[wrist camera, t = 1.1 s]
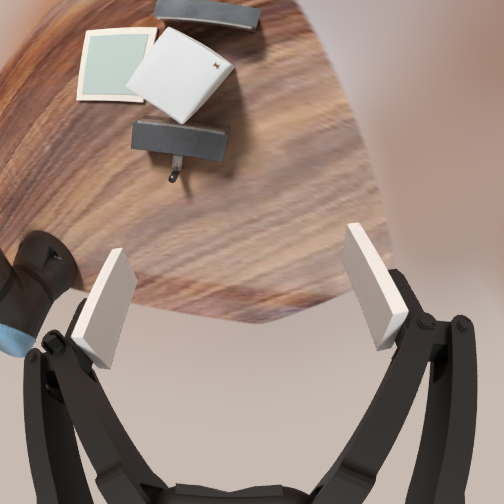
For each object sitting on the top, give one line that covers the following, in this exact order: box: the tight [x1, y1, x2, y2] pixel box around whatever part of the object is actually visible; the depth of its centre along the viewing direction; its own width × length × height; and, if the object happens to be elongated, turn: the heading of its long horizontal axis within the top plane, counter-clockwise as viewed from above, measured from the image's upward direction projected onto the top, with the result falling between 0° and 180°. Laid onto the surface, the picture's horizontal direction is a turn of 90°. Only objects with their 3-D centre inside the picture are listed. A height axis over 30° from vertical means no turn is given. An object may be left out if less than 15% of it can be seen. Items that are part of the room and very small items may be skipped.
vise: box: [131, 0, 261, 183], centre depth 29 cm, size 12×24×5 cm, turn 166°
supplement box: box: [125, 27, 235, 124], centre depth 25 cm, size 7×7×13 cm
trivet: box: [77, 27, 159, 102], centre depth 27 cm, size 11×11×1 cm
